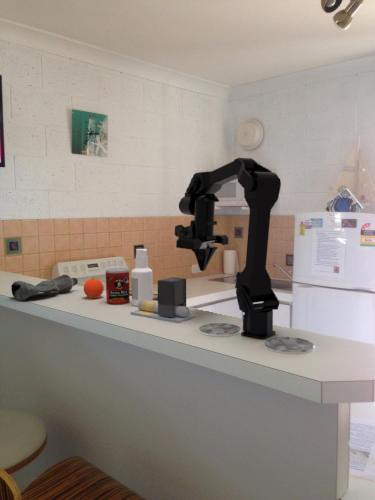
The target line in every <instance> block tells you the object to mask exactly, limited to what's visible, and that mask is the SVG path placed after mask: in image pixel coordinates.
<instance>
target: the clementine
mask: <svg viewBox="0 0 375 500" xmlns="http://www.w3.org/2000/svg"><path fill="white" fill-rule="evenodd" d="M102 281H103V282H104V283H106V280H105V279H104V280H103V279H101V278H97V277H96V278H95V277H92V278H89V279H87V280H86V281H85V283H84V285H83V293H84V295H86V297H88V298H90V299H97V298H99V297H101V296H102V294H103V293H104V289H105V288H104V287H105V286H104V284H103V282H102Z"/></svg>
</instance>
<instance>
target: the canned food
mask: <svg viewBox="0 0 375 500" xmlns="http://www.w3.org/2000/svg"><path fill="white" fill-rule="evenodd" d="M105 291H106V292H105V293H106V296H105V297H106V298H105V300H106V302H107V304H108V305H114V306H116V305H117V306H118V305H120V306H121V305H125V304H126V305H127V304H128V303H130V300H131V299H130V297H131V296H130V294H131V293H130V269H129V268H126V267H125V268H124V267H113V268H107V269H105Z"/></svg>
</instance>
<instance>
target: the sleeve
mask: <svg viewBox="0 0 375 500" xmlns="http://www.w3.org/2000/svg"><path fill="white" fill-rule="evenodd" d="M157 302H158V315H161V316H167V317H175V305H178V306H184V307H187V278H183V277H168V278H163V279H159V280H157Z"/></svg>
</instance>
